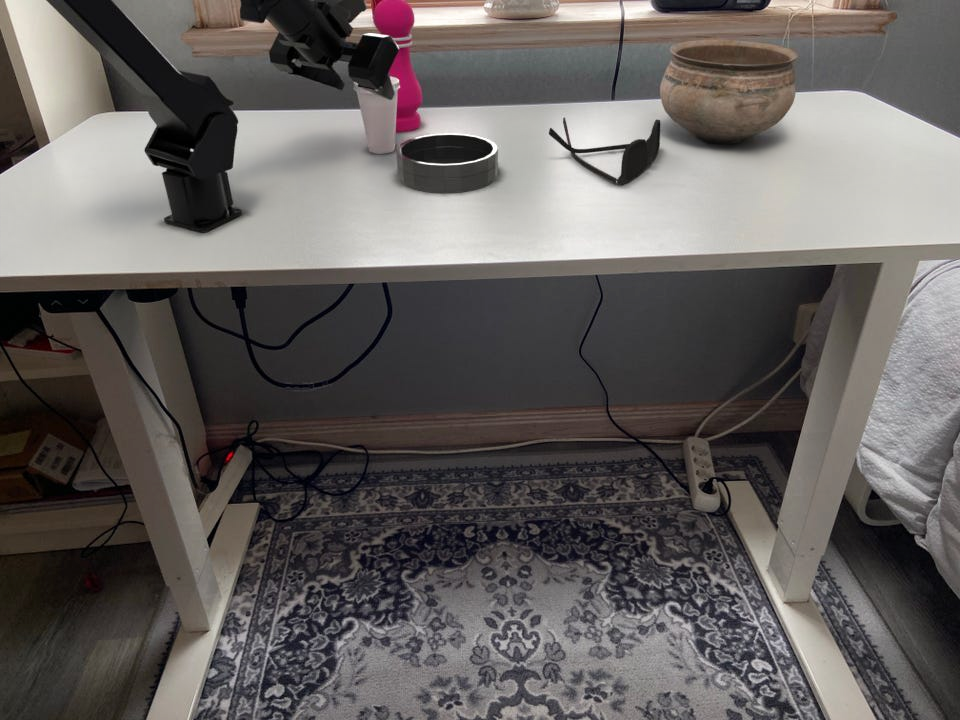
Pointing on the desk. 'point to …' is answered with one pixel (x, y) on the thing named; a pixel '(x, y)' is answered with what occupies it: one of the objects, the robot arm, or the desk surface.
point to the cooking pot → (728, 88)
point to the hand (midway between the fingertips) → (366, 92)
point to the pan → (447, 163)
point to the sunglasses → (633, 158)
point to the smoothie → (379, 118)
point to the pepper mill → (401, 60)
